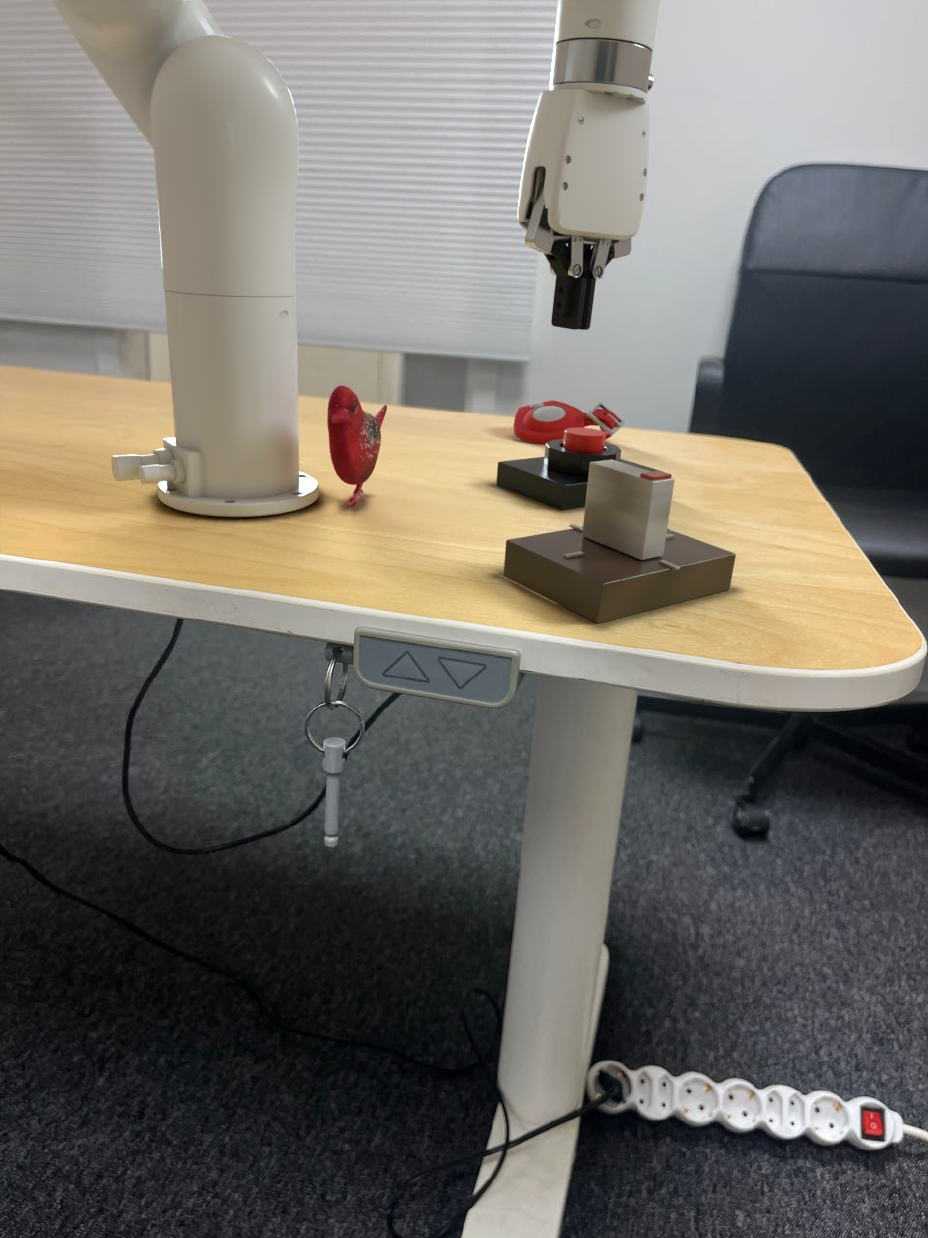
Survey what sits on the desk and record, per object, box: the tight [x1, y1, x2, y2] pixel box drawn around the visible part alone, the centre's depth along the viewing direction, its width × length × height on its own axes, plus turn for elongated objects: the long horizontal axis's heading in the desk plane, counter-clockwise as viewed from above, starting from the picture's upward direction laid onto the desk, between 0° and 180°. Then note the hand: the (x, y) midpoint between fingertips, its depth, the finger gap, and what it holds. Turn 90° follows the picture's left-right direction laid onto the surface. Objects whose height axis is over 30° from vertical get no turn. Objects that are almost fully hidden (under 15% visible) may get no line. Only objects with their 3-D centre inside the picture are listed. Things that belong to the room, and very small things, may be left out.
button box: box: [495, 439, 664, 512], centre depth 79 cm, size 12×9×4 cm
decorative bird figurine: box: [326, 385, 388, 509], centre depth 72 cm, size 3×18×10 cm, turn 172°
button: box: [563, 427, 606, 452], centre depth 79 cm, size 4×4×2 cm
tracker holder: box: [512, 399, 626, 445], centre depth 102 cm, size 12×4×10 cm
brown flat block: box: [503, 523, 737, 624], centre depth 58 cm, size 12×10×3 cm
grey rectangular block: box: [582, 460, 675, 560], centre depth 57 cm, size 6×2×5 cm, turn 36°
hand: (570, 327), depth 75 cm, fingers closed
